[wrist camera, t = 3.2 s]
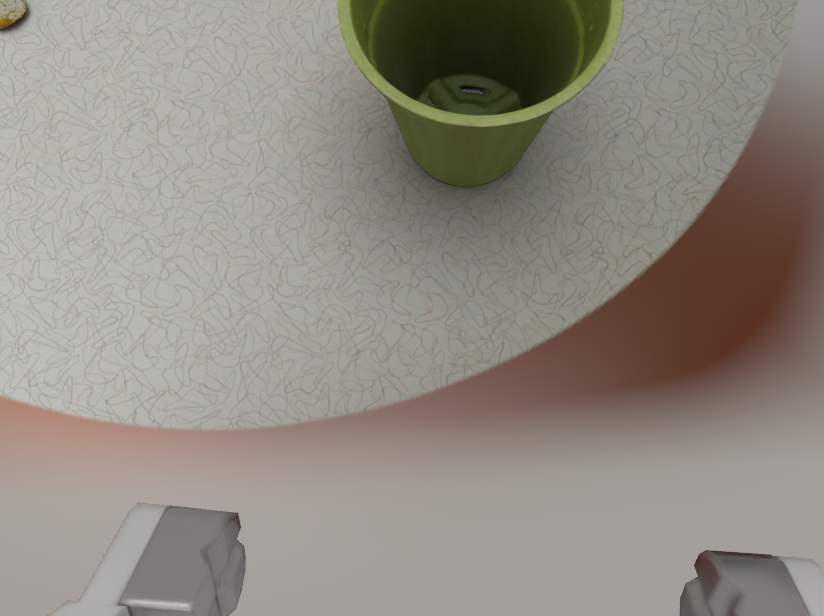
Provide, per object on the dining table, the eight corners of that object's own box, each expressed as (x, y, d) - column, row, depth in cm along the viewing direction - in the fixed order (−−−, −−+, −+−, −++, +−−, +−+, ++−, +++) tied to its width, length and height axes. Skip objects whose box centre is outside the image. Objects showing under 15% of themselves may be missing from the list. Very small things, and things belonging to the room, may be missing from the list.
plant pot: (523, 19, 38) (563, -154, 27) (594, 190, 36) (669, 75, 25) (339, 74, 38) (304, -80, 27) (398, 251, 35) (385, 162, 24)
